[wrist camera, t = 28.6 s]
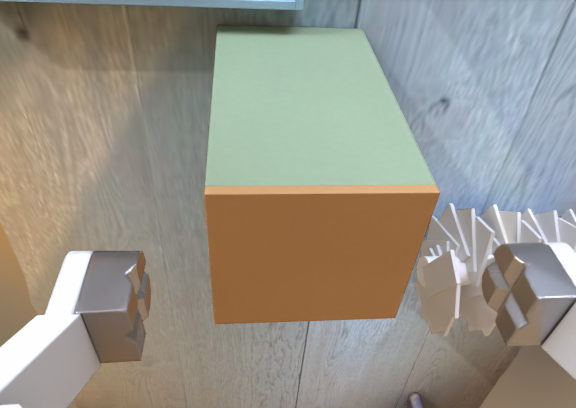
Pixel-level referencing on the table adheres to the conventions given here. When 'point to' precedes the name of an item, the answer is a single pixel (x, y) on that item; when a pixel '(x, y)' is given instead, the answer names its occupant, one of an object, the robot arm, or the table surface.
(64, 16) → the table surface
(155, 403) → the table surface
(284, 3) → the tray
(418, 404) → the flask
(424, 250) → the spiral staircase
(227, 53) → the plinth
